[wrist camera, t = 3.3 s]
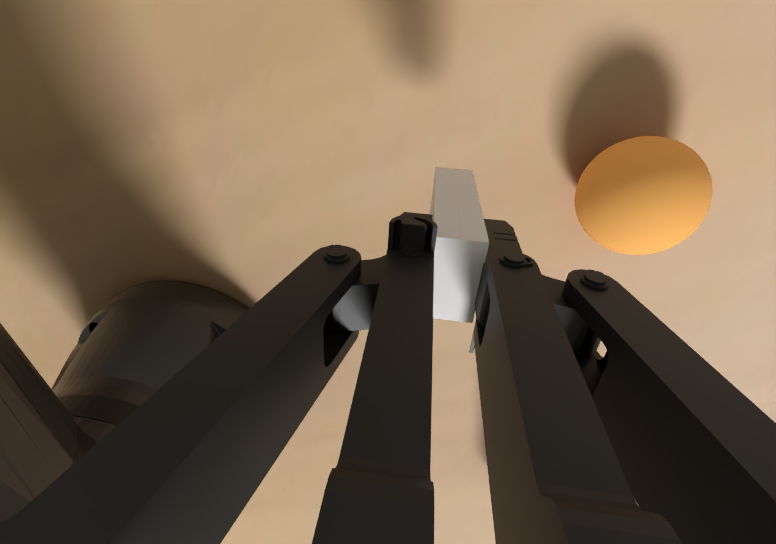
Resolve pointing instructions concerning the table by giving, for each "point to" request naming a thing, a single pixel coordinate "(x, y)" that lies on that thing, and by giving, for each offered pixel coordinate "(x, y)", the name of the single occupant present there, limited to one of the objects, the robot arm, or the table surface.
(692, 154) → the ball
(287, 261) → the table surface
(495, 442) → the robot arm
